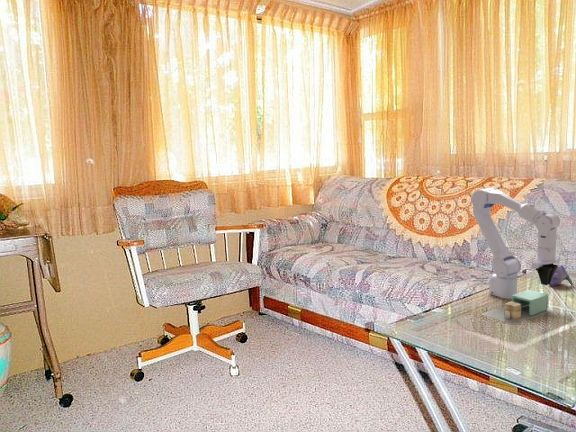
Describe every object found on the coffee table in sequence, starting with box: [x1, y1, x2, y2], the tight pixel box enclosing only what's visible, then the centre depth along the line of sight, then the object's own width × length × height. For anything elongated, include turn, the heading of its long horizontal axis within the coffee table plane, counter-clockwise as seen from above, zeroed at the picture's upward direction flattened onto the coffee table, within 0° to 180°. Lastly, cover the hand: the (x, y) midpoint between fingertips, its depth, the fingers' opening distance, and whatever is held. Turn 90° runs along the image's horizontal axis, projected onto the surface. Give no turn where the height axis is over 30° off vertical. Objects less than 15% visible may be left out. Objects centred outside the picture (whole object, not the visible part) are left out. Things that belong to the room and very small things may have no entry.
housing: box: [511, 289, 549, 316], centre depth 164 cm, size 7×10×5 cm
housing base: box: [480, 305, 552, 326], centre depth 163 cm, size 13×22×4 cm, turn 121°
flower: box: [549, 264, 574, 287], centre depth 195 cm, size 9×9×10 cm
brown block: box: [504, 300, 521, 319], centre depth 160 cm, size 4×4×5 cm
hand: (545, 284), depth 169 cm, fingers closed
